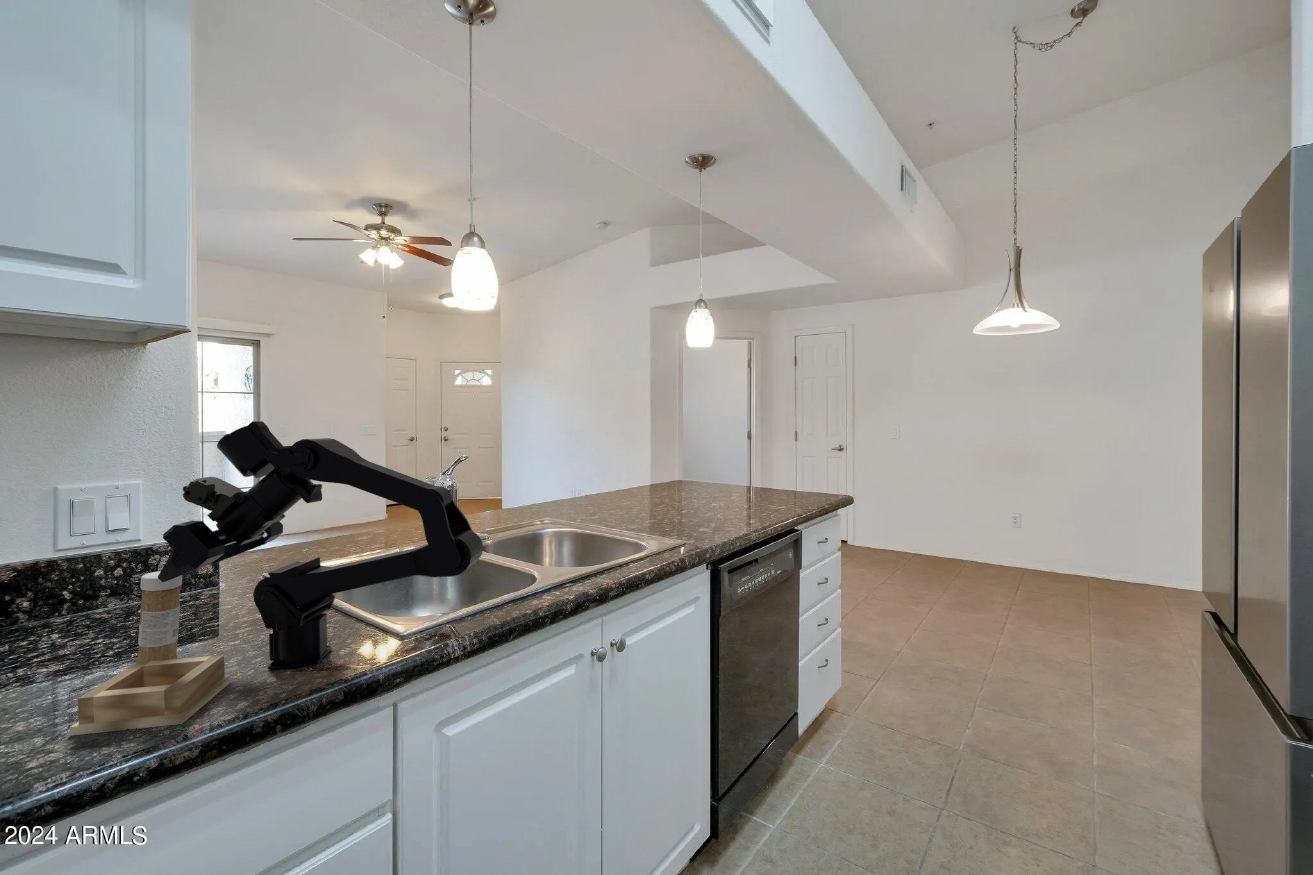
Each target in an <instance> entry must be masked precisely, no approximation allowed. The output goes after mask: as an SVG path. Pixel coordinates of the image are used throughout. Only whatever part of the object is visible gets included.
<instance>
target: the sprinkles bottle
mask: <svg viewBox="0 0 1313 875" xmlns="http://www.w3.org/2000/svg"><path fill="white" fill-rule="evenodd" d="M160 572H161V570H160V571H159V570H158V571H153V572H149V573H145V574H143V575H142V576H141V577H140V590H141V603H140V617H139V618H140V619H139V625H138V626H139V627H138V629H139V630H138V641H137V642H138V659H137V662H147V661H159V660H171V659H178V655H177V653H178V651H177V649H178V640H179V629H180V628H179V626H180V610H181V609H180V607H181V606H180V601H181V600H180V598H181V588H182V585H183V575H181V576H179V577H176V578H174V579H171V580H168V581H166V582H162V581H160V580H159V579H158V575H159V573H160Z"/></svg>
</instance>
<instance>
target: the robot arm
mask: <svg viewBox="0 0 1313 875" xmlns="http://www.w3.org/2000/svg"><path fill="white" fill-rule="evenodd" d="M216 447H217V449H218V450H219V451H220V452H221V454H222V455H223V456H224V457H225V458H226V459H227V460H228V461H229V463H231V464H232V466H233V467H234V468H235V469H236V470H237V471H238V472H239V473H240V474H241V476H242V477H244V478H249V477H252V476H253V477H254V478H255V479H260V478H261V479H260V480H259V481H258V482H256V484H254V485H253V486H252V487H251V488H249V489H248V490H246V491H244V490H242V489H241V488H239V487H237V486H235V485H234V484H231V483H229V482H227V481H225V480H223V479H221V478H219V477H216V476H205V477H198V478H195V479H194V480H190V482H189V484H188V485H184V486H183V487H182V492H183V493H182V497H183V499H184V500H185V501H186V502H188V503H191V504H193V505H196V506H200V508H203V509H205V510H207V511H210V512H209V513H208V514H207V515H206V516H207V517H208V518H209V519H210V520H211V521H212V522H216V523H215V524H216V525H215V526H216V528H217V529H216V530H212V529H211V527H209V526H208V525H207V524H206V523H205V522H204V521H203V520H190V521H185V522H181V523H178V524H173V525H172V526H171V527H169V528H168V529H167V531H165V532H164V533H163V534H162V539H163V540H164V541H165V542H166V543H167V545H169V546H170V547H171V548H172V549H171V552H170V555H169V557H168V558H167V560H166V561H165V563H164V565H163V567H162V569H161V570H160V571H161V572H160V573H159V575H158V579H159V580H160V581H162V582H166V581H168V580H171V579H174V578H176V577H179V576H181V575H182V576H184V575H186V574H190V573H191V572H194V571H197V570H199V569H202V568H205V567H206V566H207V567H208V566H211V565H214V564H217V563H220V562H222V561H224V560H228V559H229V558H233V557H235V556H238V555H241V554H243V553H245V552H249V551H251V550H254V549H257V548H259V547H262V546H264V545H266V544H267V543H270V542H273V541H275V540H277V539H278V537H280V536H281V535H282V534H283V533H284V524H283V523H282V522H281V521H282V520H283V519H285V518H286V514H285V513H286V512H287V511H288V510H290V509H291V508H293V506H295V505H296V504H297V503H298V502H299V501H300V500H301V499H302V500H303V501H304V502H305V503H306V504H311V503H317V502H321V501H323V493H322V488H323V484H322V483H332V484H340V485H347V486H350V487H353V488H356V489H358V490H360V491H364V492H366V493H369V494H371V495H374V496H377V497H380V498H382V499H385V500H388V501H391V502H394V503H396V504H399V505H400V506H404V507H407V508H409V509H412V510H415V511H418V513H419V515H420V518H421V521H422V526H423V530H424V537H425V540H426V543H425V544H423V545H420V546H419V547H415V548H410V549H405V550H404V549H403V550H401V551H396V552H392V553H388V554H383V555H378V556H374V557H370V558H364V559H360V560H355V561H352V562H346V563H342V564H337V565H333V566H327V565H321V557H320V556H318V557H316V558H314V559H311V560H310V559H309V560H308V561H294V562H292V563H290V564H288V565H287V564H286V565H284V566H281V567H279V568H276V569H273V570H272V571H269V572H268V573H267V575H268V576H267V577H265V578H262V579H260V580H259V581H258V582H257V584H256V586H255V587H254V589H253V595H252V596H253V597H252V598H253V602H254V604H255V607H256V608H257V609H258V612H259V615H260V617H261V620H262V622H263V624H264V626H265V628H266V629H267V630H272V631H271V632H269V634H268V646H269V647H268V650H269V651H268V653H269V656H268V658H269V661H270V663H269V664H268V665H267V669H268V670H276V669H278V670H279V669H289V668H301V667H310V666H311V667H312V666H317V665H319V664H320V662H321V661H322V660H323V659H324V658H325V657H326V656H327V655H328V653H329V652H331V650H332V645H328V624H327V623H328V622H327V620H328V617H327V616H328V614H327V613H325V612H327V611H330V610H331V609H332V607H333V605H334V601H335V600H336V597H335V595H334V594H337V593H343V592H346V591H352V590H355V589H360V588H364V587H368V586H374V585H377V584H382V583H387V582H392V581H397V580H401V579H406V578H410V577H416V576H419V577H420V576H421V577H426V578H447V577H449V578H450V577H457V576H459V575H460V574H462V573H464V572H465V571H467V570H469V568H471V567H472V566H473V565H474V564H476V563H477V562H478V561H479V560H480V558H481V557H482V555H483V551H484V543H483V541H482V539H481V538H482V537H480V536H479V534H477V533H476V532H474V531H473V529H472V527H471V524H470V523H469V521H468V519H467V516H465V515H464V513H463V511H462V510H461V509H460V508H459V507H458V505H457V504H456V503H455V500H454V498H453V496H452V494H451V492H450V491H449V489H448V488H445V487H444V486H440V485H433V484H431V483H428V482H426V481H424V480H420V479H418V478H415V477H413V476H411V475H407V474H405V473H402V472H398V471H396V470H393V469H392V468H388V467H385V466H383V465H380V464H377V463H375V462H372V461H369V460H367V459H366V458H364V457H362V456H361V455H360V454H359V453H358V452H356V451H355V449H353V448H351V447H350V446H348V445H346V444H344V443H343V442H341V441H339V440H337V439H334V438H329V437H325V438H322V437H321V438H306V439H304V438H303V439H302V438H301V439H300V440H298V441H295V442H294V443H293V444H292V445H283V444H282V443H281V442H280V441H279V439H277V437H276V436H275V435H274V434H273V433H272V431H271V430H270V428H269V427H268V425H267V424H266V423H265V422H264V421H263V420H261V421H259V420H254V421H253V420H252V421H251V422H249V423H248V425H245V426H242V427H240V428H238V429H235V430H233V431H231V432H229V433H227V434H225V435H223V436H222V437H221V438H219V440H218V442H217V444H216ZM313 481H315V482H321V483H318V484H317V483H313Z"/></svg>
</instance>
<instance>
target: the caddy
mask: <svg viewBox="0 0 1313 875" xmlns="http://www.w3.org/2000/svg"><path fill="white" fill-rule="evenodd" d="M230 683H232V674H226V675H225V654H220V655H209V656H207V655H206V656H198V657H197V656H196V657H187V658H177V659H171V660H159V661H147V662H138V661H137V662H136V663H134V664H132V665H131V666H130V667H127V668H126V669H124V670H123V671H121V672H119V673H117V674H115V676H113V677H111V678H110V679H108V680H106V681H104V682H103V683H101V684H99V685H97V686H96V687H94V688H92V689H91V690H90V691H88V692H85V694H83V695H82V696H79V697H78V698H77V716H78V718H77V720H78V721H77V722H75V723H74V724H72V725H70V727H69V736H70V737H71V736H79V735H80V736H81V735H89V734H90V733H91V734H100V733H107V732H108V733H110V732H116V731H117V732H118V731H127V729H129V730H137V729H146V728H148V729H149V728H155V727H165V726H174V725H182V724H184V723H185V722H187V720H189V719H190V718H191V717H192V716H193V715H194V714H196V713H197V712H198V711H199V710H201V708H202V707H204V706H205V705H206V704H207V703H208V702H209V701H210V700H212V699H213V698H214V697H215V696H216V695H217V694H219V693H220V692H221V691H222V690H223V689H225V688H226V687H227V686H228V685H229V684H230ZM136 728H137V729H136Z"/></svg>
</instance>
